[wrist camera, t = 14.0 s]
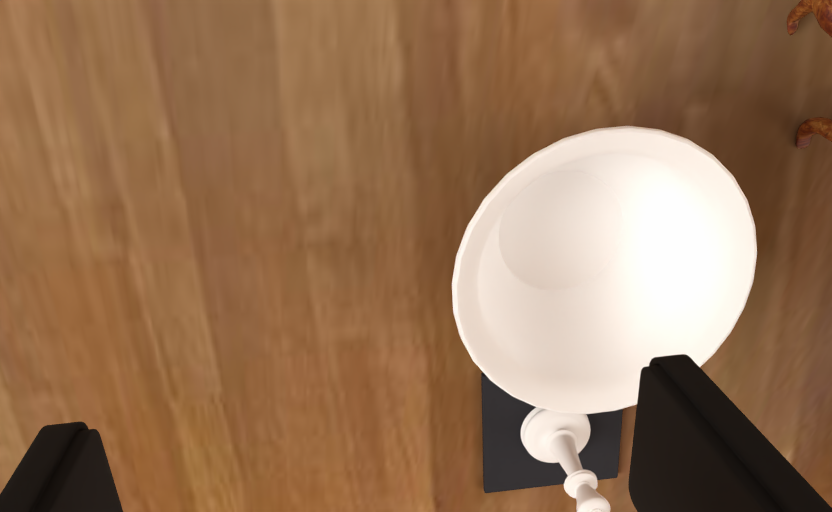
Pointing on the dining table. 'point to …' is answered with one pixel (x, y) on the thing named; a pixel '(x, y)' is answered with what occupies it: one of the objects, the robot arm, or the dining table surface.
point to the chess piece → (564, 452)
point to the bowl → (602, 267)
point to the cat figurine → (828, 5)
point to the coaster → (513, 463)
